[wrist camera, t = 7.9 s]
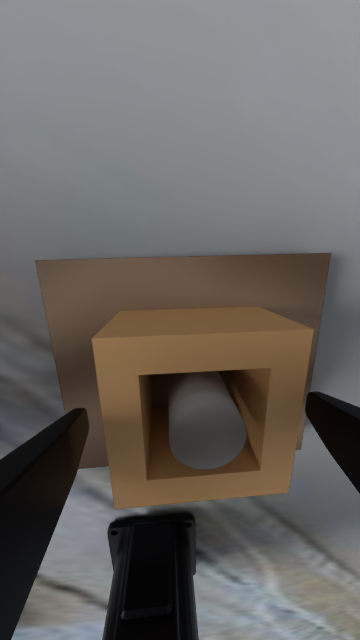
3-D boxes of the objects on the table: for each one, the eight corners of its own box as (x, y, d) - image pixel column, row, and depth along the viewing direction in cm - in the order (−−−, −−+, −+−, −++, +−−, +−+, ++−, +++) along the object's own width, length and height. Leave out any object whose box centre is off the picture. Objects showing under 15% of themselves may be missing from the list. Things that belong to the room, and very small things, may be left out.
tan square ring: (249, 421, 12) (288, 492, 8) (131, 429, 12) (114, 509, 8) (258, 306, 10) (313, 329, 7) (120, 311, 10) (91, 338, 6)
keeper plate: (287, 431, 14) (368, 540, 9) (85, 447, 14) (26, 581, 8) (309, 254, 11) (458, 241, 6) (52, 261, 11) (-84, 253, 5)
